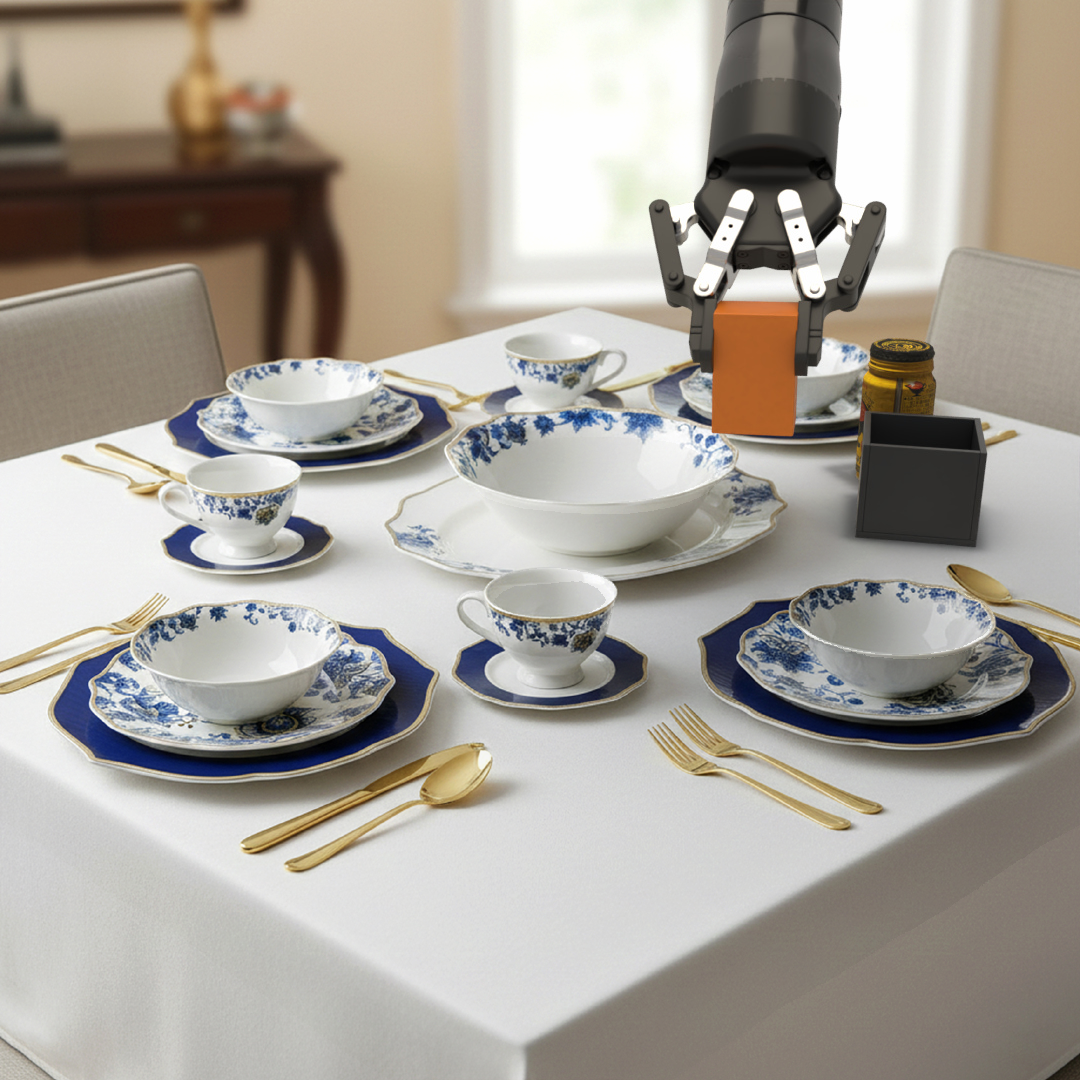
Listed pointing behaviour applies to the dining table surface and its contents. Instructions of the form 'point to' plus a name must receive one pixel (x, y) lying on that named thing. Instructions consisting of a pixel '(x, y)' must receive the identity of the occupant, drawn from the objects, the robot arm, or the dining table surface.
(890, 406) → the condiment
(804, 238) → the robot arm
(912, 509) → the bin
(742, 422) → the block
